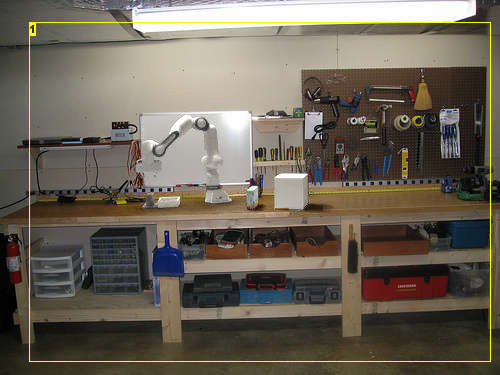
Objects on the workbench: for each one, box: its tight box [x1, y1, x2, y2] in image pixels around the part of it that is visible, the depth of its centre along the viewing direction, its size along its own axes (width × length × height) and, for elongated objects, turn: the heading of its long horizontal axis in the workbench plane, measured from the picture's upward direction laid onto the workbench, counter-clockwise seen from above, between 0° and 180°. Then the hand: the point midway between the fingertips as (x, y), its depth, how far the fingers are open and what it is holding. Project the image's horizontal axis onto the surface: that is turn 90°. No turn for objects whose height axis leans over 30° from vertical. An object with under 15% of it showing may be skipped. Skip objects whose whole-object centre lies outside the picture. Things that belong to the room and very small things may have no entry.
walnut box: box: [145, 192, 156, 207], centre depth 302 cm, size 5×12×9 cm, turn 6°
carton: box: [157, 196, 181, 209], centre depth 304 cm, size 16×18×5 cm
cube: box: [273, 173, 309, 210], centre depth 286 cm, size 25×21×24 cm
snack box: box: [246, 185, 259, 210], centre depth 288 cm, size 21×6×15 cm, turn 168°
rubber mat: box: [141, 202, 158, 209], centre depth 302 cm, size 11×16×1 cm
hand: (149, 177), depth 299 cm, fingers open, 8 cm apart
